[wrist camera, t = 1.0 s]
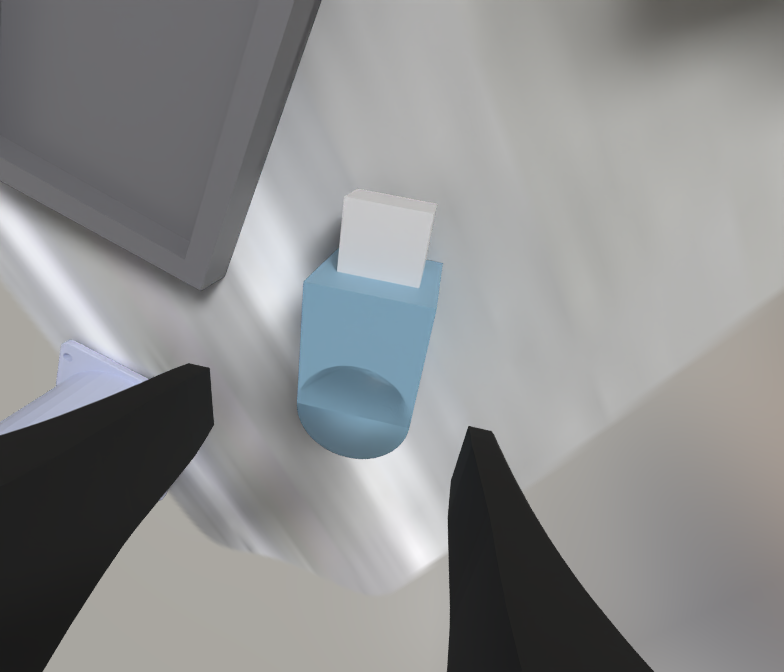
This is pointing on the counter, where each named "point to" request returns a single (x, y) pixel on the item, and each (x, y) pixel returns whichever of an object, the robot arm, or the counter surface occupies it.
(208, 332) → the counter surface
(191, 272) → the tray
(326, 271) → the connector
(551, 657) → the robot arm
